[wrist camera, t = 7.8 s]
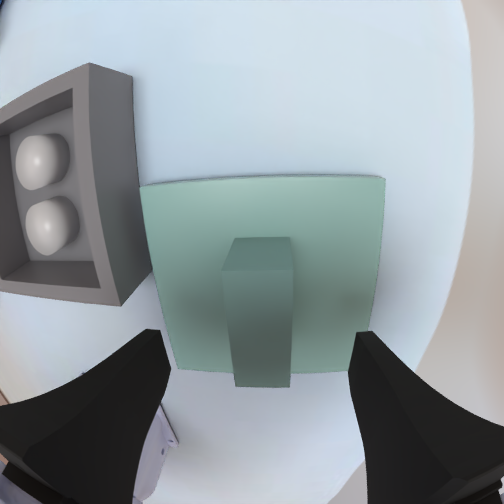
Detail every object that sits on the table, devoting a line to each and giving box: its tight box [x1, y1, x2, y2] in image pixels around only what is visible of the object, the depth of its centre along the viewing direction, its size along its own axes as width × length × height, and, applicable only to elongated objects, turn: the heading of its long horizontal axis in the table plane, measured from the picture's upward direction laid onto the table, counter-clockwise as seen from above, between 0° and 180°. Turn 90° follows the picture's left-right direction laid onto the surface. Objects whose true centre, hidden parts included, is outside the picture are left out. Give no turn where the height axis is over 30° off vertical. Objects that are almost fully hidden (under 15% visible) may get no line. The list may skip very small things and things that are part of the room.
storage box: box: [0, 63, 152, 306], centre depth 12 cm, size 11×11×4 cm
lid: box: [139, 175, 386, 388], centre depth 13 cm, size 11×11×5 cm
